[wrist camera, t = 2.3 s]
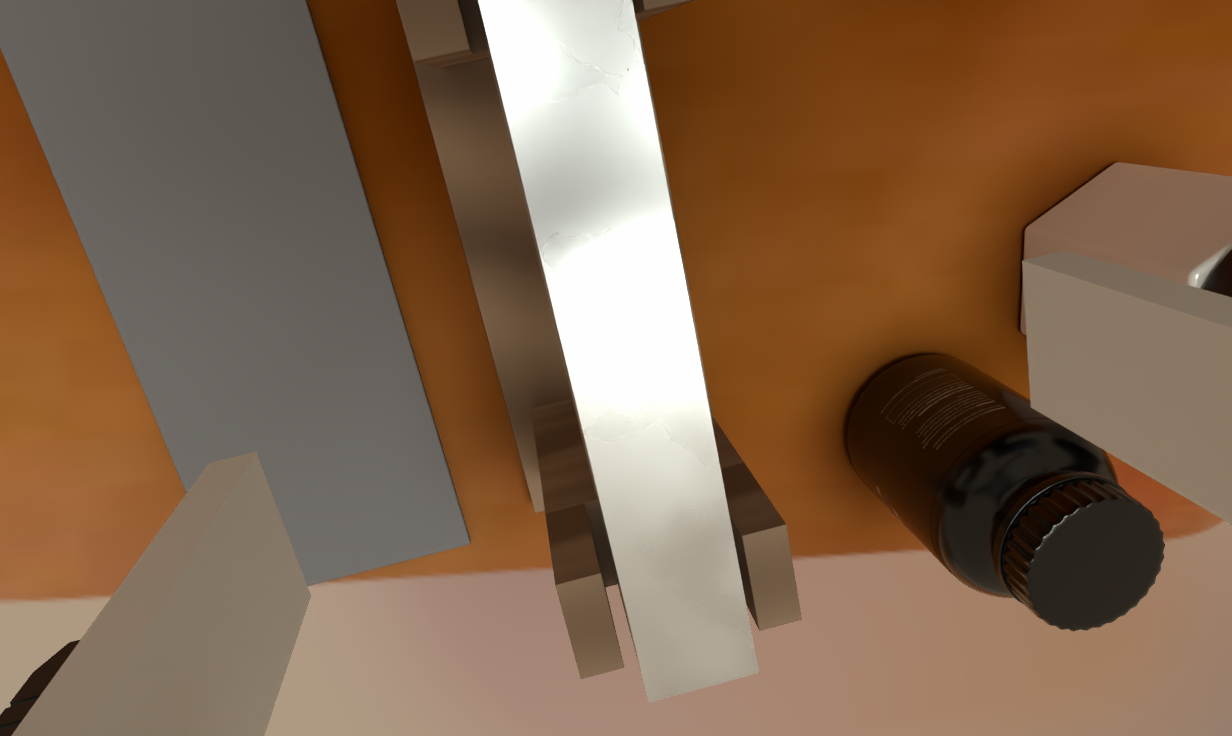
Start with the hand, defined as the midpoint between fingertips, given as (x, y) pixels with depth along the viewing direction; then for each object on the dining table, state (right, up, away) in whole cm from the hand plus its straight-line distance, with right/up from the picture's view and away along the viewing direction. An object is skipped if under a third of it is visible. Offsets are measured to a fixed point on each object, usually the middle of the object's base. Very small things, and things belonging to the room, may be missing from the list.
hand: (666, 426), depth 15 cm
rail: (-1, +3, +10) cm, 10 cm away
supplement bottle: (+12, -1, +24) cm, 27 cm away
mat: (-14, +4, +18) cm, 24 cm away
